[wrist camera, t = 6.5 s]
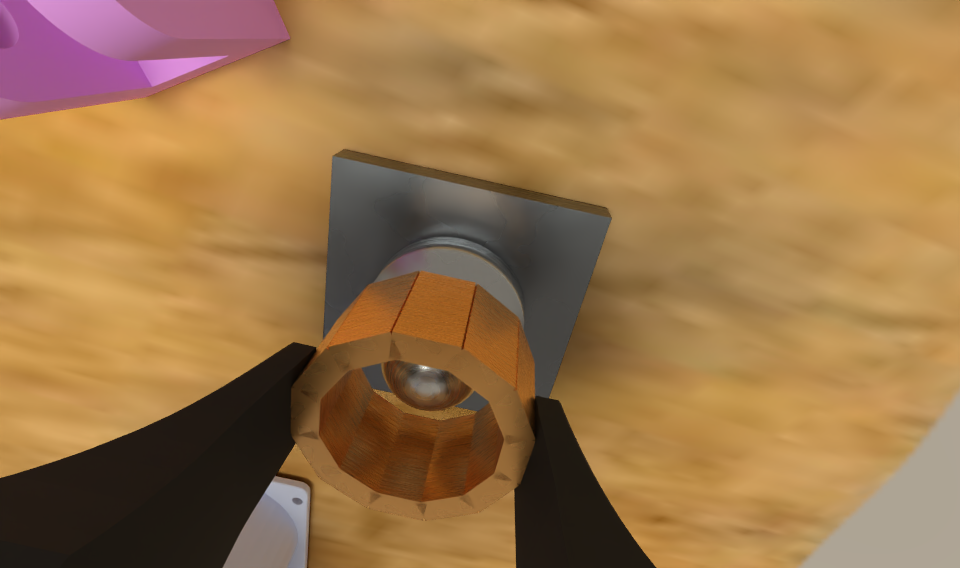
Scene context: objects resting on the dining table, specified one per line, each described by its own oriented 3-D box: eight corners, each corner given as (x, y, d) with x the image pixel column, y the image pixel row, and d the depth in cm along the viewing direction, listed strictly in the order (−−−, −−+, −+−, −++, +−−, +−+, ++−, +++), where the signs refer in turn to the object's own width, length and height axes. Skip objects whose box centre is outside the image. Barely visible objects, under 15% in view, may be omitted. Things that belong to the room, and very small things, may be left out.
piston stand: (538, 407, 20) (541, 528, 15) (330, 362, 20) (264, 468, 15) (607, 208, 16) (641, 284, 11) (343, 149, 16) (258, 199, 11)
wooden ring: (506, 451, 15) (501, 537, 13) (331, 413, 15) (289, 491, 13) (554, 300, 13) (560, 369, 10) (342, 252, 13) (292, 309, 10)
